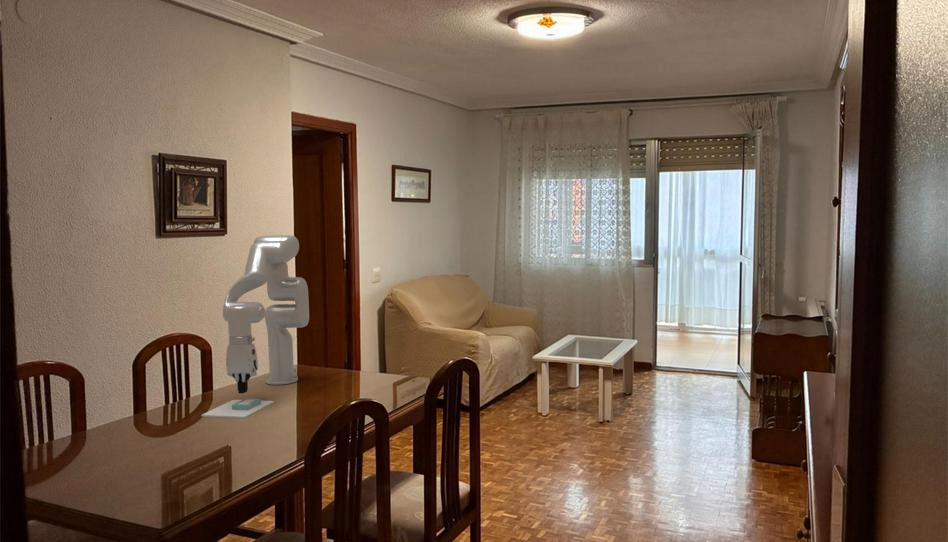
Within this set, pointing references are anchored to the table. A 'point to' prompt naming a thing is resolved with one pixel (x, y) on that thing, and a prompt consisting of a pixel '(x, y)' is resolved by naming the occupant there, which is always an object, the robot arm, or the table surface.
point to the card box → (246, 404)
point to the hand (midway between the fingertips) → (242, 392)
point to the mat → (227, 411)
